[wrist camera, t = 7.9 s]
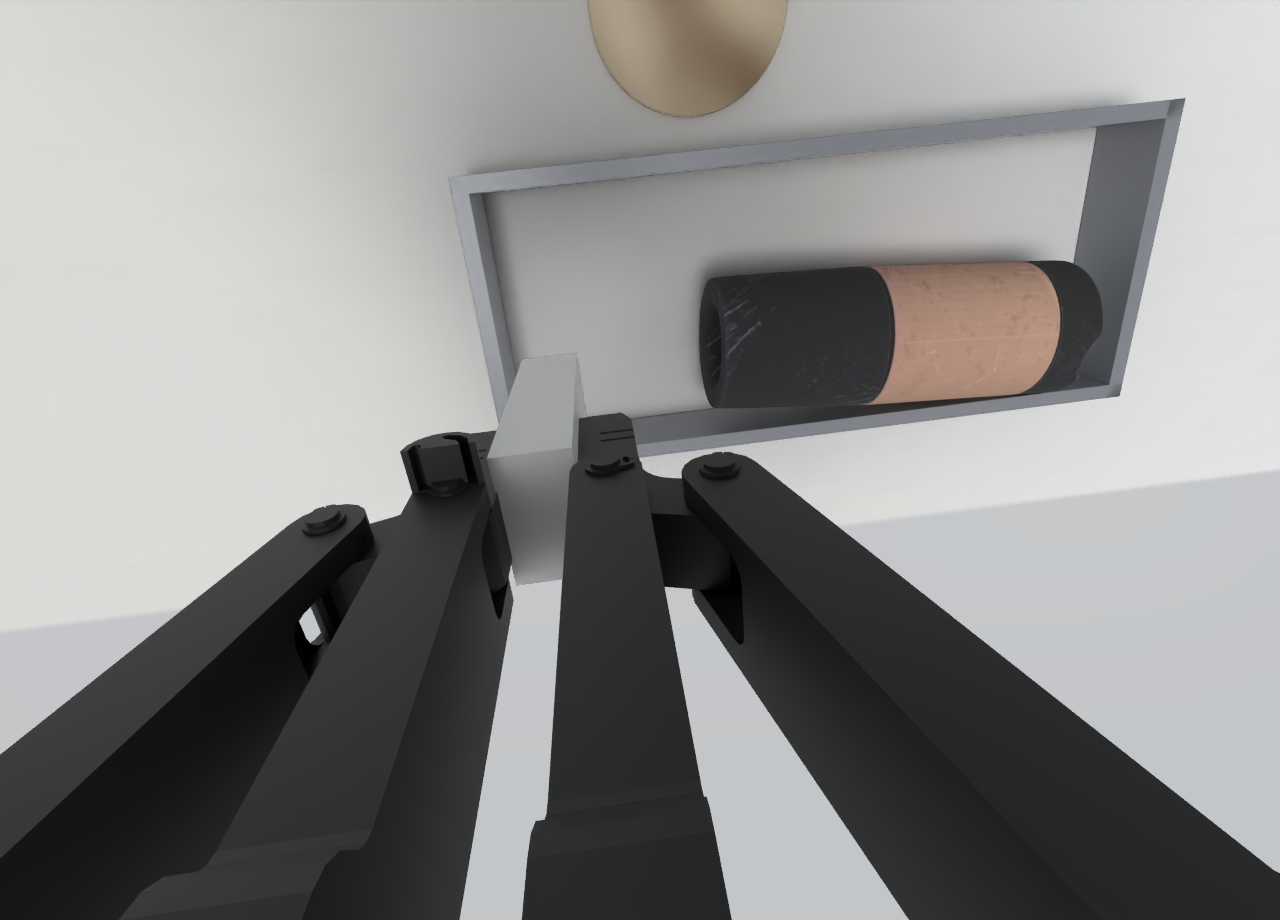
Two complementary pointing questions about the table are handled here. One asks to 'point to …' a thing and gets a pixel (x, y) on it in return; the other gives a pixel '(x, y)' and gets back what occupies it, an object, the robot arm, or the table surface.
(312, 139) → the table surface
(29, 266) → the table surface
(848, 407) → the tray
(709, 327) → the travel mug
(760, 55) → the cork coaster
